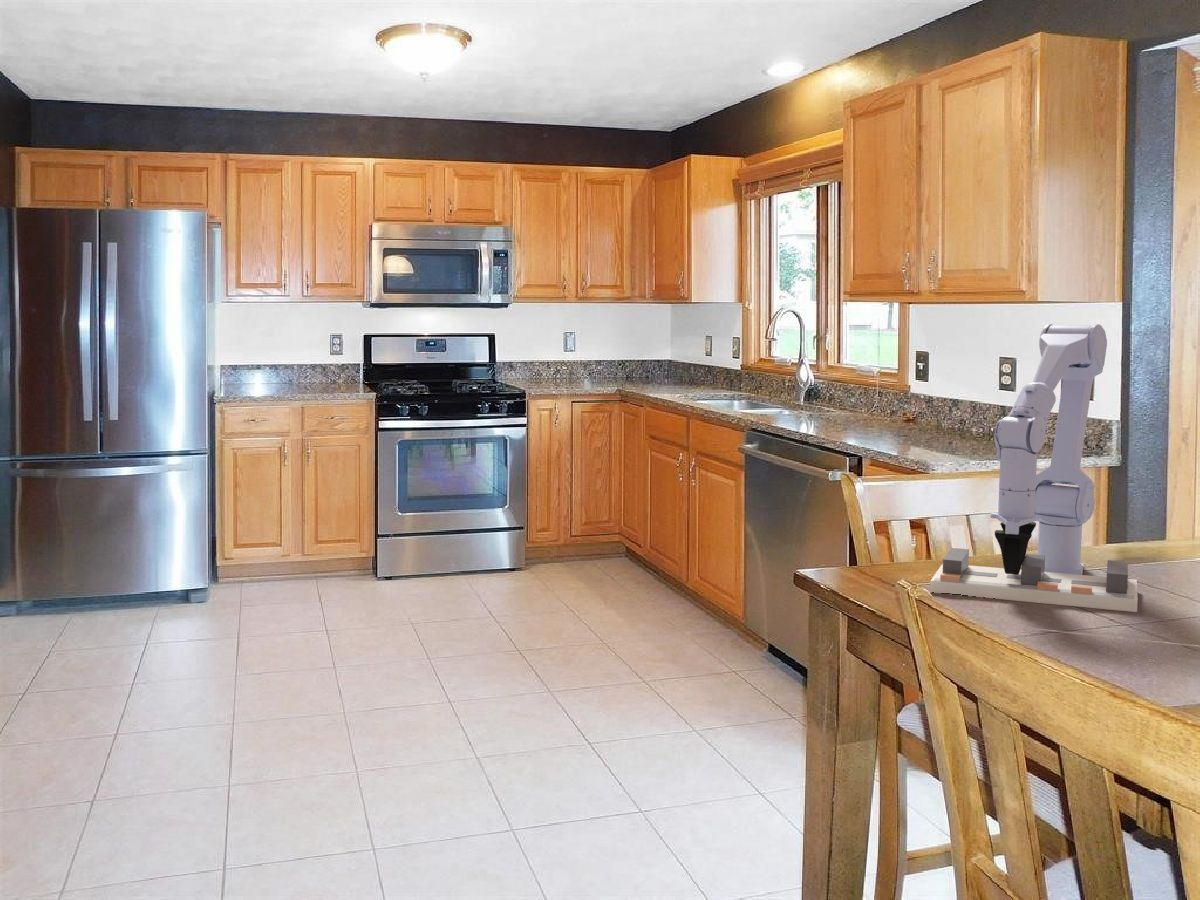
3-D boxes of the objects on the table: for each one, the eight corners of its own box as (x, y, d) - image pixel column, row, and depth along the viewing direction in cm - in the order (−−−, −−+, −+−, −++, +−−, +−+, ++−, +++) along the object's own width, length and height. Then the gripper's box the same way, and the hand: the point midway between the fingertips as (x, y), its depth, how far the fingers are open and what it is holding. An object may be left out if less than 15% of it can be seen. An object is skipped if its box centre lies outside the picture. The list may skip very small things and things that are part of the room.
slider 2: (1106, 577, 185) (1107, 560, 184) (1126, 579, 183) (1127, 561, 183) (1105, 591, 176) (1106, 573, 175) (1126, 593, 174) (1127, 574, 174)
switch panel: (942, 574, 197) (942, 557, 197) (1136, 591, 184) (1137, 573, 184) (930, 592, 184) (930, 574, 184) (1137, 612, 171) (1138, 593, 171)
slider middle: (1025, 570, 190) (1026, 553, 190) (1044, 572, 189) (1045, 555, 188) (1020, 584, 181) (1021, 565, 181) (1040, 585, 180) (1041, 567, 179)
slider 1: (950, 564, 195) (951, 547, 195) (968, 566, 194) (969, 549, 194) (942, 576, 186) (942, 559, 186) (961, 578, 185) (961, 561, 185)
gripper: (996, 481, 193) (993, 558, 194) (986, 493, 180) (984, 576, 181) (1040, 483, 190) (1036, 561, 191) (1033, 496, 177) (1030, 580, 178)
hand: (1014, 568), depth 186 cm, fingers open, 7 cm apart
